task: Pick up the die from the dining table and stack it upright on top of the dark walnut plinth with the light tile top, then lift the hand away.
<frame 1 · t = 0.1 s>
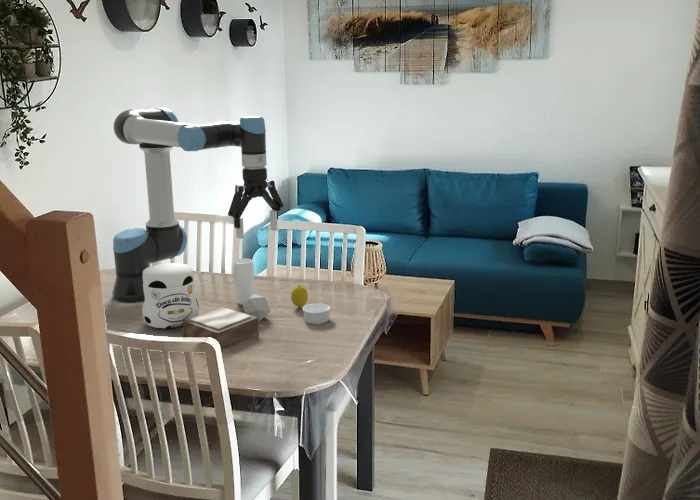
hand: (257, 234, 228), 28 cm above the table, tool pointing down, fingers open, 13 cm apart
plinth: (221, 335, 219), on the table
milk container: (171, 324, 229), on the table
die: (257, 319, 233), on the table
lemon: (299, 308, 243), on the table
ramekin: (316, 321, 232), on the table
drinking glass: (245, 303, 248), on the table
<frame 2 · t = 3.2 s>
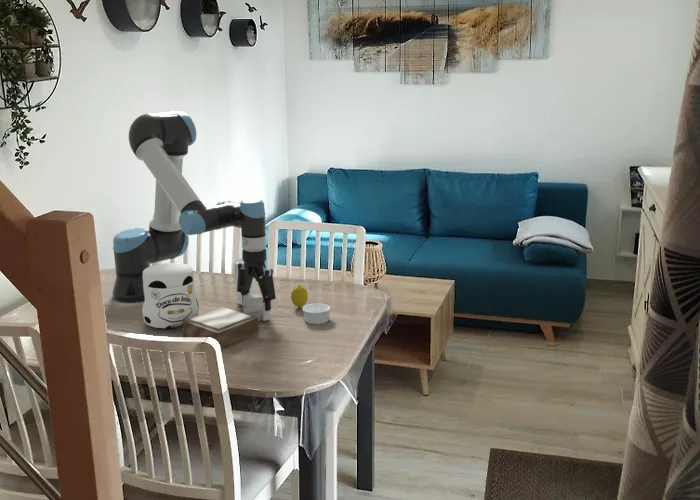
hand: (256, 316, 233), 1 cm above the table, tool pointing down, fingers closed on die, 8 cm apart
die: (257, 319, 233), on the table, touching gripper
everything else where it was.
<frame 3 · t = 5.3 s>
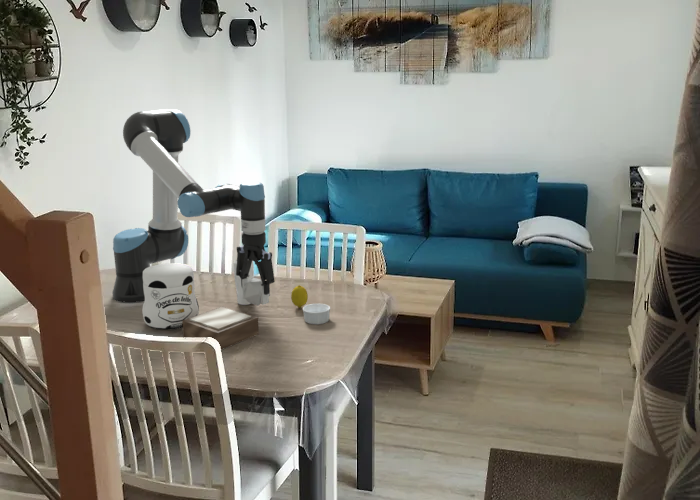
hand: (255, 300, 232), 6 cm above the table, tool pointing down, fingers closed on die, 8 cm apart
die: (256, 303, 232), point 5 cm above the table, touching gripper
everything else where it was.
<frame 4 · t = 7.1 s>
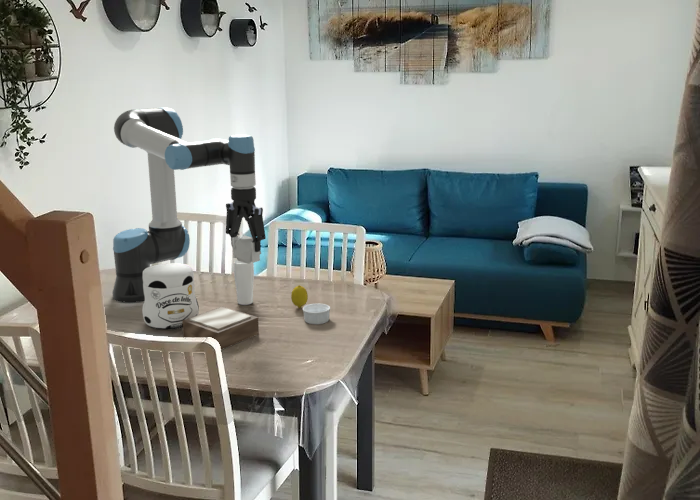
hand: (246, 259, 224), 21 cm above the table, tool pointing down, fingers closed on die, 8 cm apart
die: (247, 262, 225), point 20 cm above the table, touching gripper
everything else where it was.
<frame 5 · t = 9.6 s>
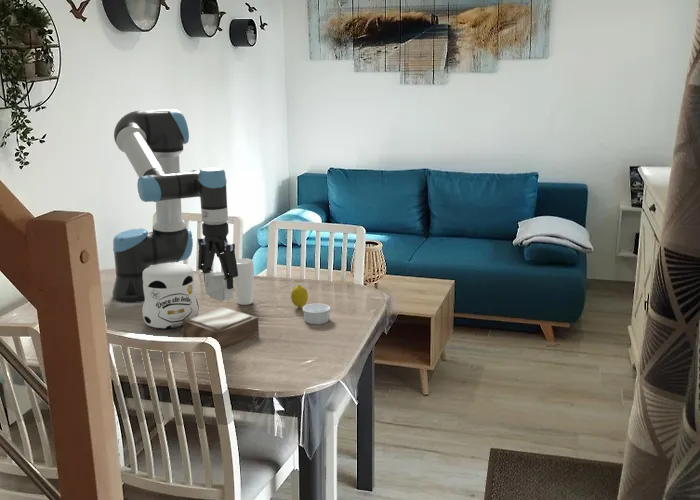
hand: (219, 296, 216), 13 cm above the table, tool pointing down, fingers closed on die, 8 cm apart
die: (220, 299, 216), point 12 cm above the table, touching gripper
everything else where it was.
when the fingers open (8 cm above the table, at t = 11.3 s): die drops 1 cm, resting on plinth.
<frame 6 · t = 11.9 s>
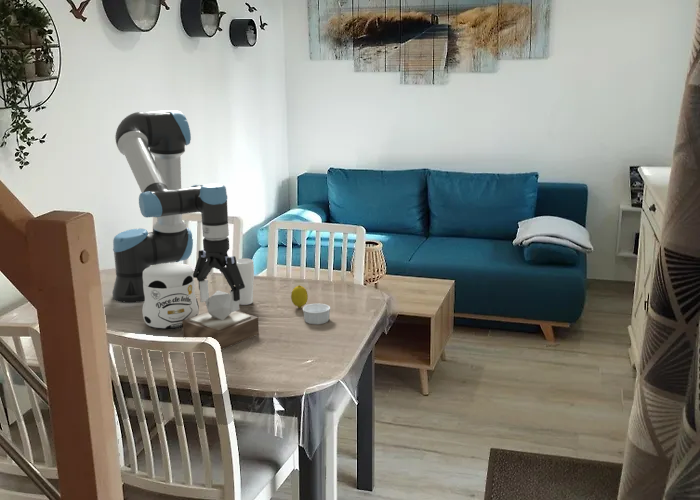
hand: (219, 305, 217), 10 cm above the table, tool pointing down, fingers open, 13 cm apart
die: (221, 317, 218), point 6 cm above the table, touching plinth
everything else where it was.
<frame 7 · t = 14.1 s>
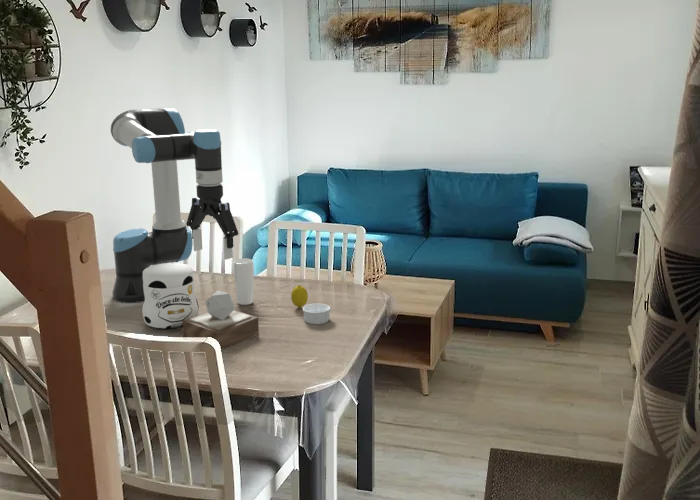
hand: (213, 254, 215), 25 cm above the table, tool pointing down, fingers open, 13 cm apart
nothing on the table moved.
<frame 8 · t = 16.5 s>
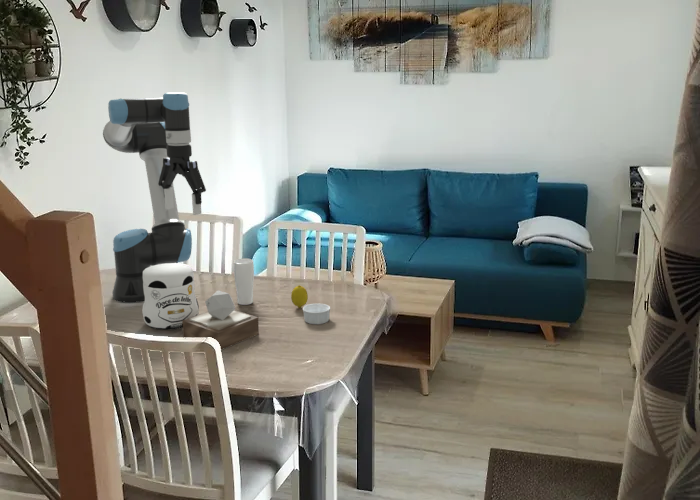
hand: (183, 211, 228), 35 cm above the table, tool pointing down, fingers open, 13 cm apart
nothing on the table moved.
at the end: die inside the target area on the plinth (0.3 cm from its centre), point 5.8 cm above the plinth's base; die tilted 2°; the gripper is holding nothing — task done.
